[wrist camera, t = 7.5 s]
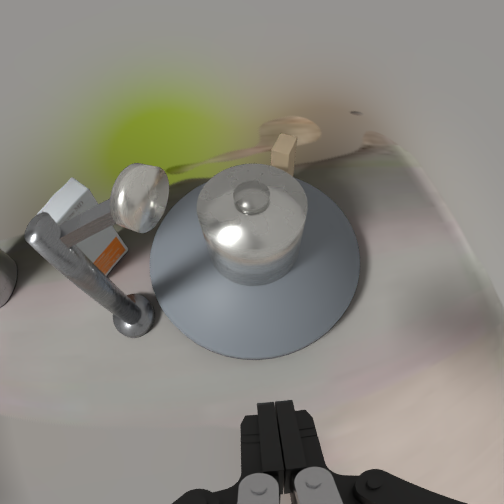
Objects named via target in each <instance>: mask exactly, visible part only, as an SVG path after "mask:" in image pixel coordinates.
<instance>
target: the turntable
mask: <svg viewBox="0 0 504 504" xmlns="http://www.w3.org/2000/svg"><path fill="white" fill-rule="evenodd" d="M296 144H297V137H296V136H291V135H287V134H283V133H280V135H279V137H278V139H277V141H276V143H275V144H274V146H273V148H272V150H271V166H273V167H276V168H279V169H281V170H283V171H285V172H287V173H288V174H290V175H291V176H292V177H293V173H294V164H295V153H296ZM295 179H296V180H297V181H298V182H299V183H300V185H301V186H302V188H303V190H304V192H305V194H306V197H307V203H308V210H307V215H306V219H305V224H304V229H303V234H302V239H301V243H300V248H299V252H298V257H297V260H296V262H295V264H294V266H293V267H292V268H291V270H290V271H289V272H288V273H287V274H286V275H285V276H283V277H282V278H281V279H279V280H277V281H275V282H273V283H270V284H267V285H263V286H244V285H240V284H237V283H234V282H232V281H230V280H228V279H226V278H225V277H224V276H222V275H221V274H220V273H219V272H218V271H217V269H216V268H215V266H214V265H213V263H212V260H211V258H210V255H209V251H208V248H207V245H206V242H205V239H204V236H203V232H202V229H201V226H200V223H199V219H198V216H197V200H198V197H199V194H200V192H201V190H202V188H203V187H204V186H205V184H206V183H207V182H206V183H204V184H202V185H200V186H198V187H196V188H195V189H193V190H192V191H191V192H189V193H188V194H186V195H185V196H184V197H183V198H182V199H180V200H179V201H178V202H177V203H176V204H175V205H174V206H173V207H172V208H171V210H170V211H169V212H168V214H167V215H166V216H165V218H164V219H163V221H162V223H161V224H160V226H159V228H158V230H157V233H156V235H155V238H154V240H153V245H152V249H151V255H150V276H151V281H152V286H153V290H154V292H155V295H156V298H157V300H158V302H159V304H160V306H161V308H162V309H163V311H164V313H165V314H166V315H167V317H168V318H169V319H170V320H171V322H172V323H173V324H174V325H175V326H176V327H177V328H178V329H179V330H180V331H181V332H182V333H184V334H185V335H186V336H187V337H188V338H189V339H191V340H192V341H194V342H195V343H197V344H198V345H200V346H202V347H204V348H206V349H208V350H210V351H212V352H215V353H218V354H221V355H224V356H227V357H232V358H238V359H247V360H262V359H271V358H277V357H281V356H285V355H289V354H291V353H294V352H296V351H299V350H301V349H303V348H305V347H307V346H308V345H310V344H312V343H314V342H315V341H317V340H318V339H319V338H320V337H322V336H323V335H324V334H325V333H327V332H328V331H329V330H330V329H331V328H332V326H333V325H334V324H335V323H336V322H337V321H338V320H339V319H340V318H341V316H342V315H343V313H344V312H345V310H346V309H347V307H348V306H349V304H350V302H351V300H352V298H353V295H354V293H355V290H356V287H357V283H358V279H359V272H360V254H359V247H358V243H357V239H356V236H355V233H354V231H353V229H352V227H351V225H350V222H349V221H348V219H347V218H346V216H345V215H344V213H343V212H342V211H341V209H340V208H339V207H338V206H337V205H336V204H335V203H334V202H333V201H332V200H331V199H330V198H329V197H328V196H327V195H325V194H324V193H323V192H321V191H320V190H319V189H317V188H315V187H314V186H312V185H310V184H308V183H306V182H304V181H302V180H299V179H297V178H295Z"/></svg>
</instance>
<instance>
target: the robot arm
mask: <svg viewBox="0 0 504 504" xmlns="http://www.w3.org/2000/svg"><path fill="white" fill-rule="evenodd" d="M16 279H17V266H16V263H15V261H14V260H13V259H12V258H10V257H9V256H8V255H7V254H6V253H5V252H4V251H3V250H1V249H0V307H1V306H3V305H4V304H5V303H6V302H7V300H8V299H9V297H10V296H11V294H12V292H13V289H14V287H15V283H16ZM257 410H258V415H248V416H245V417H244V419H243V421H242V423H241V472H242V473H241V477H240V479H239V481H238V482H237V483H236V484H235V485H234V486H232V487H230V488H228V489H225V490H221V491H217V492H213V493H212V492H210V491H208V490H205V489H194V490H190V491H188V492H186V493H185V494H184V495H183V496H181V497H180V498H179V499H178V500H176V501H175V502H173V503H172V504H280V494H283V487H284V494H287V493H290V495H291V502H292V504H467V503H463V502H460V501H457V500H454V499H451V498H448V497H445V496H442V495H440V494H437V493H434V492H432V491H429V490H426V489H424V488H421V487H419V486H417V485H414V484H412V483H409V482H407V481H405V480H403V479H400V478H398V477H396V476H394V475H392V474H389V473H387V472H385V471H383V470H379V469H371V470H368V471H365V472H363V473H362V474H361V475H360V476H348V475H339V474H336V473H334V472H332V471H331V470H329V469H328V468H327V466H326V464H325V461H324V457H323V454H322V450H321V446H320V443H319V439H318V437H317V432H316V429H315V425H314V421H313V418H312V417H311V415H310V414H309V413H308V412H307V411H306V410H300V411H295V410H294V405H293V401H292V400H287V401H277V402H275V406H274V402H267V403H257Z"/></svg>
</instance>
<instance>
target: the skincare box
mask: <svg viewBox="0 0 504 504" xmlns="http://www.w3.org/2000/svg"><path fill="white" fill-rule="evenodd" d="M96 205H98V203H97V201H96V200H95V198H94V196H93V195H92V193H91V191H90V190H89V189H88V188H87V187H85V186H84V185H83V184H81V183H80V182H78V181H77V180H76V179H74V178H71V179H70V180H69V181H68V182H67V183H66V184H65V185H64V186H63V187H62V188H61V189H60V190H58V191H57V192H56V193H55V194H54V195H53V196H52V197H51V198H50V200H49V201H48V203H47V204H46V205H45V206H44V207H43V208H42V209H41V210H40V211H39V212H38V214H39V213H42V212H47V213H48V214H49V215H50V216H51V217H52V218H53V219H54V221H55V222H56V223H57V224H58V225H61V224H63V223H65V222H66V221H68V220H70V219H72V218H74V217H75V216H77V215H79V214H81V213H83V212H85V211H87V210H89V209H90V208H92V207H94V206H96ZM76 245H77V247H78V248H79V249H80V250H81V251H82V252H83V253H84V254H85V255H86V256H87V257H88V258H89V259H90V260H91V261H92V262H93V263H94V264H95V265H96V266H97V267H98V268H99V269H100V270H101V271H102V272H103V273H104V274H105V275H106V276H107V274H108V273H109V272H110V271H111V269H112V268H113V267H114V266H115V265H116V263H117V262H118V261H119V260H120V259H121V258H122V257H123V255H124V254H125V253H126V252H127V251H128V248H127V247H126V245H125V244H124V242H123V241H122V239H121V238H120V236H119V235H118V233H117V232H116V230H115V229H114V228H113V226H110V227H108V228H106V229H104V230H102V231H100V232H98V233H96V234H94V235H92V236H90V237H88V238H86V239H84V240H82V241H80V242H79V243H77V244H76Z"/></svg>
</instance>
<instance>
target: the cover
mask: <svg viewBox="0 0 504 504" xmlns="http://www.w3.org/2000/svg"><path fill="white" fill-rule="evenodd" d="M307 210H308V203H307V197H306V194H305V192H304V190H303V188H302V186H301V185H300V183H299V182H298V181H297V180H296V179H295V178H294V177H292V176H291V175H290V174H288V173H287V172H285V171H283V170H281V169H279V168H276V167H273V166H269V165H264V164H242V165H238V166H234V167H230V168H228V169H225V170H223V171H221V172H220V173H218V174H216V175H215V176H214V177H212V178H211V179H210V180H209V181H208V182H207V183H206V184H205V186H204V187H203V188H202V190H201V192H200V194H199V197H198V200H197V216H198V219H199V223H200V226H201V229H202V232H203V236H204V239H205V242H206V245H207V248H208V251H209V255H210V258H211V260H212V263H213V265H214V266H215V268H216V269H217V271H218V272H219V273H220V274H221V275H222V276H224V277H225V278H226V279H228V280H230V281H232V282H234V283H237V284H240V285H244V286H263V285H267V284H270V283H273V282H275V281H277V280H279V279H281V278H282V277H283V276H285V275H286V274H287V273H288V272H289V271H290V270H291V268H292V267H293V266H294V264H295V262H296V260H297V257H298V252H299V248H300V243H301V239H302V234H303V229H304V224H305V219H306V215H307Z"/></svg>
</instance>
